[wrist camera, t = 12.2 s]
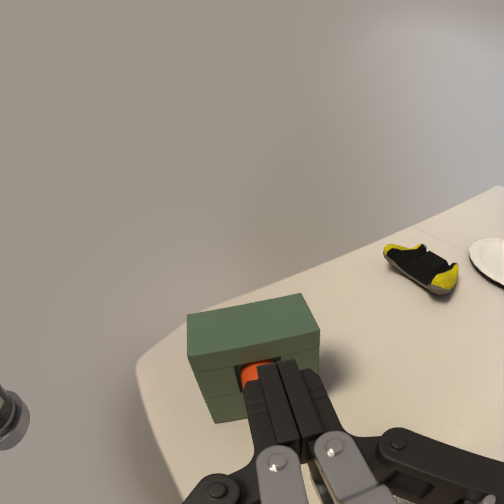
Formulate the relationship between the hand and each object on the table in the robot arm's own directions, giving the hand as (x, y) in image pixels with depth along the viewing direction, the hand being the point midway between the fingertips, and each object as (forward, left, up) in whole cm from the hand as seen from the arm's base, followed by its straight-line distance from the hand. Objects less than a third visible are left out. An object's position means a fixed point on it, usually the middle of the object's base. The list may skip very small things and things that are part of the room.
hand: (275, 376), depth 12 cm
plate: (+36, +48, -22) cm, 63 cm away
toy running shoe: (+14, +41, -22) cm, 48 cm away
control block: (-7, +13, -22) cm, 26 cm away
